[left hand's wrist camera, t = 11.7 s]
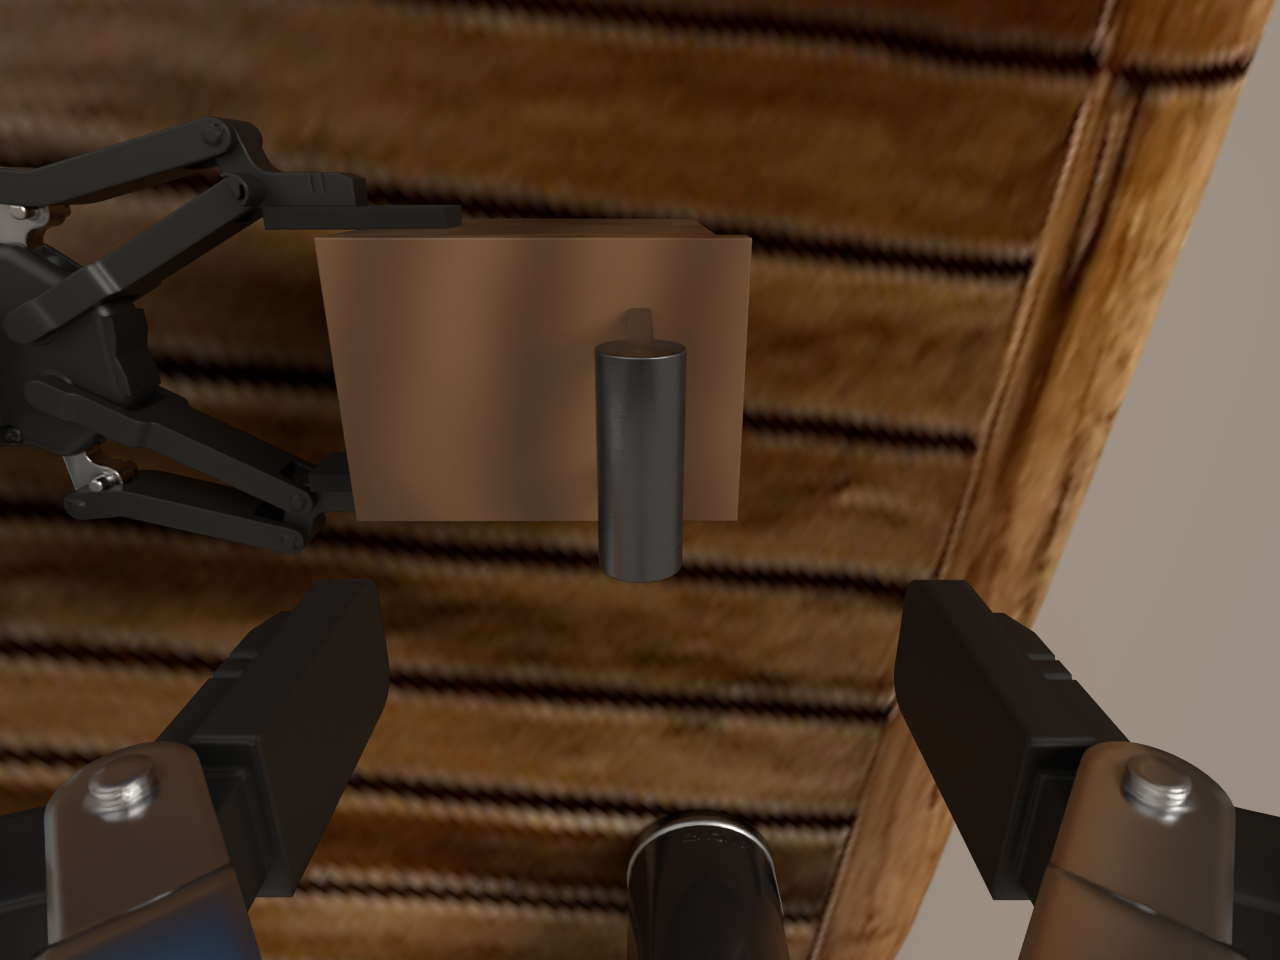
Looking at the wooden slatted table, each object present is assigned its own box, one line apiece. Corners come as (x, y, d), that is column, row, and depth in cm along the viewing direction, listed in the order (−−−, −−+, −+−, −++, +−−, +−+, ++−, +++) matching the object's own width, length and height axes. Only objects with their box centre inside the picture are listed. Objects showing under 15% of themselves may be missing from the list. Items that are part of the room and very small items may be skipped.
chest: (693, 218, 34) (716, 234, 24) (688, 418, 38) (707, 506, 28) (421, 218, 34) (329, 234, 24) (441, 418, 38) (368, 506, 28)
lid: (746, 234, 24) (805, 264, 16) (733, 506, 28) (774, 651, 19) (328, 234, 24) (161, 263, 16) (368, 507, 28) (249, 651, 19)
